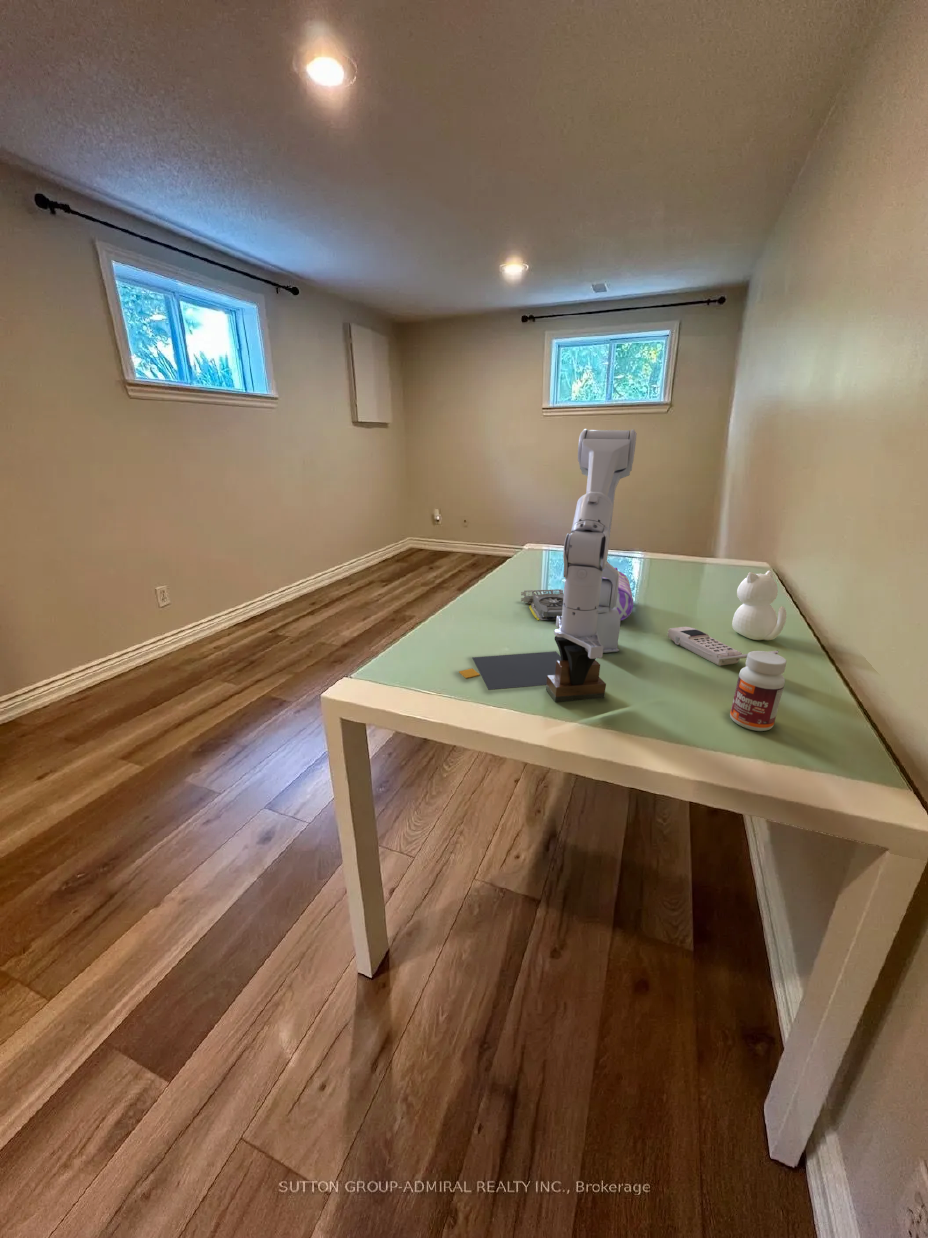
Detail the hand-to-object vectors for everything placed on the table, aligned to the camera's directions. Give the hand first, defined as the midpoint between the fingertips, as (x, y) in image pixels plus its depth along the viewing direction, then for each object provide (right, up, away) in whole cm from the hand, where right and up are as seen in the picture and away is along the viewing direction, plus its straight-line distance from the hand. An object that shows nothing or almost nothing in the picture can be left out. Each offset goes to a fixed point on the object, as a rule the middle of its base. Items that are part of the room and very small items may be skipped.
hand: (573, 679), depth 84 cm
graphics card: (+3, +12, +44) cm, 46 cm away
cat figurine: (+48, +6, +29) cm, 56 cm away
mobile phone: (+33, +3, +18) cm, 37 cm away
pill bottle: (+27, -6, -6) cm, 28 cm away
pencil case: (+21, +13, +45) cm, 51 cm away
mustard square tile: (-18, 0, +8) cm, 20 cm away
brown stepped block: (0, -3, +1) cm, 3 cm away
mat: (-7, +1, +10) cm, 12 cm away
